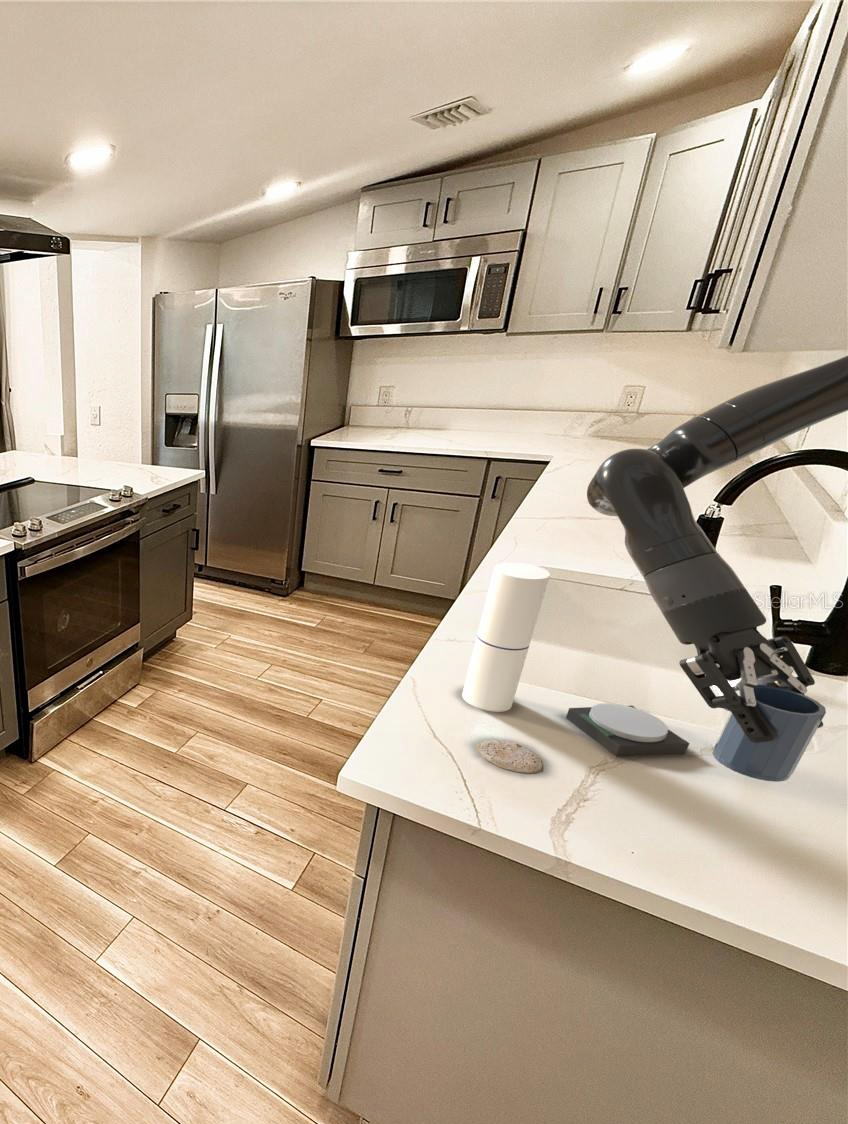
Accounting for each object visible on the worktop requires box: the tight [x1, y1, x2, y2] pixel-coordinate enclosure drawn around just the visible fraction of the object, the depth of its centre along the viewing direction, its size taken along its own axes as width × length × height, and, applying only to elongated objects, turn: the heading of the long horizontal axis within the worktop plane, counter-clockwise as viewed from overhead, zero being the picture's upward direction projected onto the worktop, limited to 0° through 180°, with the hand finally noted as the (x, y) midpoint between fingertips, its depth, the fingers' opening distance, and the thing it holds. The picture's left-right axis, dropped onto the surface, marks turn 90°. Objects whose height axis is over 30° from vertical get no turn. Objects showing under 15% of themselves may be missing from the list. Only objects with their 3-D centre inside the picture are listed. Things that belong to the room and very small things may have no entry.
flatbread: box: [476, 740, 543, 774], centre depth 93 cm, size 8×8×1 cm
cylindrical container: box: [461, 562, 551, 713], centre depth 102 cm, size 7×7×25 cm
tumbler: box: [712, 685, 827, 783], centre depth 70 cm, size 6×6×9 cm
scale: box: [565, 702, 690, 758], centre depth 96 cm, size 10×10×4 cm
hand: (788, 734), depth 68 cm, fingers closed on tumbler, 6 cm apart
